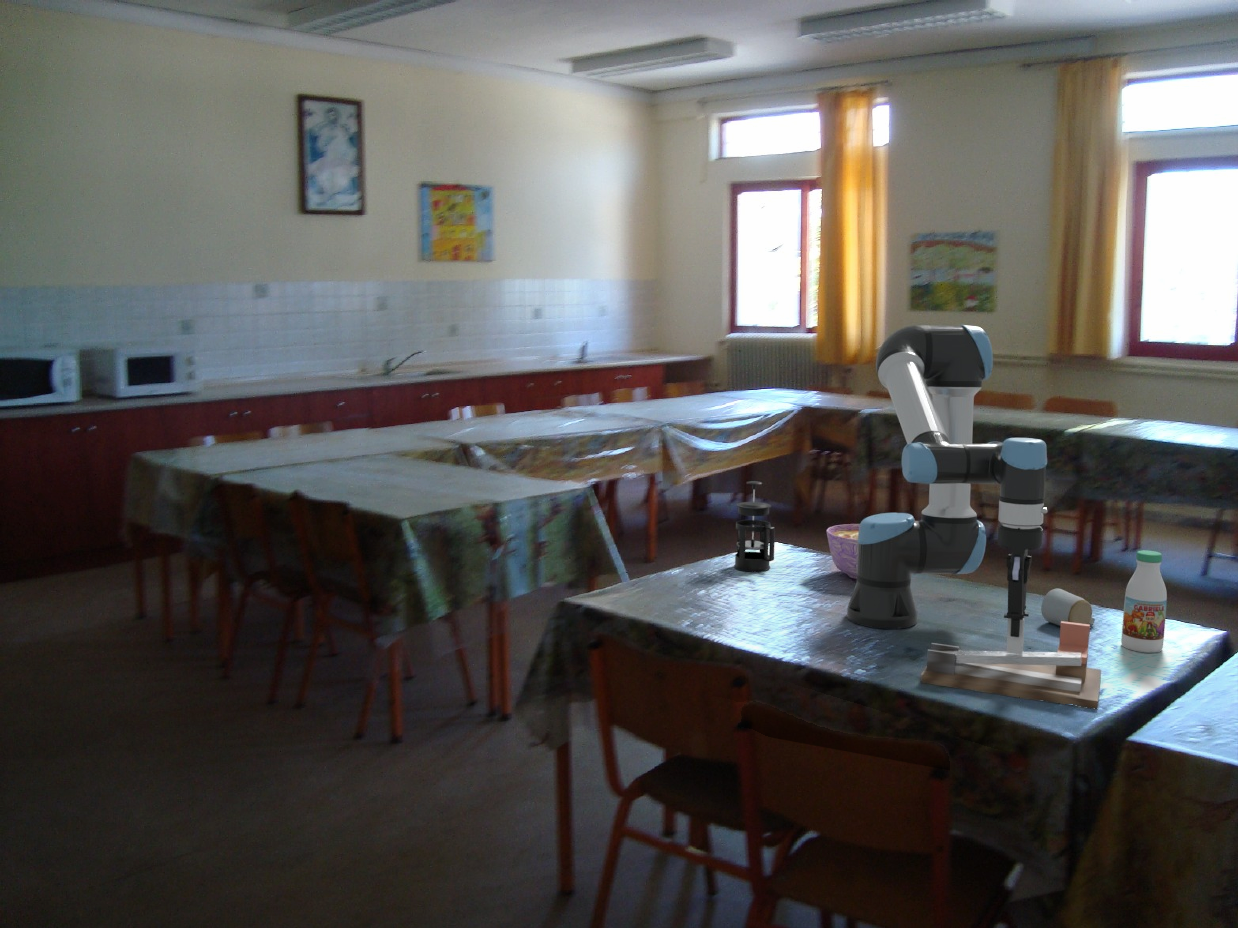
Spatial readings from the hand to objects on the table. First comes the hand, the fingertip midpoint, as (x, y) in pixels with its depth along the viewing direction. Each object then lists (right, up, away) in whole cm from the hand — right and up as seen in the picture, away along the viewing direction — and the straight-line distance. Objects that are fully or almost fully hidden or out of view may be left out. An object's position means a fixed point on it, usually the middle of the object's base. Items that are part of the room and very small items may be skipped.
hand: (1014, 652), depth 197 cm
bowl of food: (-9, +5, +80) cm, 81 cm away
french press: (-37, +7, +87) cm, 95 cm away
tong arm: (0, -2, +1) cm, 2 cm away
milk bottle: (+35, -4, +24) cm, 43 cm away
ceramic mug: (+26, -1, +39) cm, 47 cm away
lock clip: (+12, -1, +4) cm, 13 cm away
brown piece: (+1, -6, +5) cm, 8 cm away
